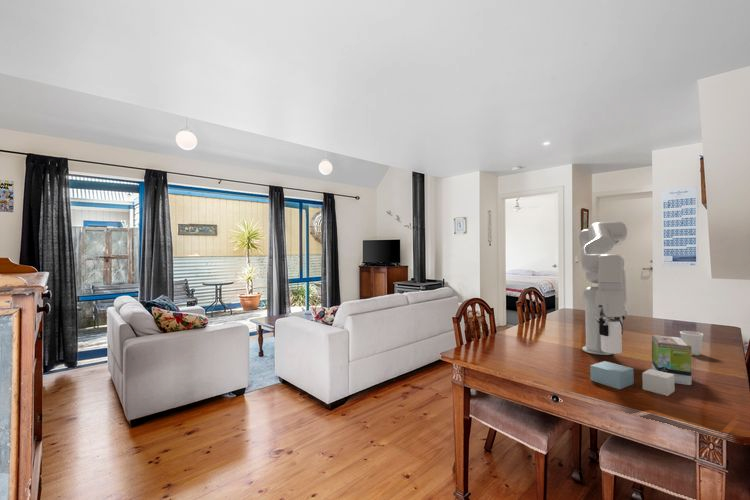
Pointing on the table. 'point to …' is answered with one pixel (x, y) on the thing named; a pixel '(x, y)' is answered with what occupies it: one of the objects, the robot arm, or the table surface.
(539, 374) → the table surface
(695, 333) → the dixie cup
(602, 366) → the pedestal block
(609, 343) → the can
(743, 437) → the table surface
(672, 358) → the tea box
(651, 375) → the grey block
